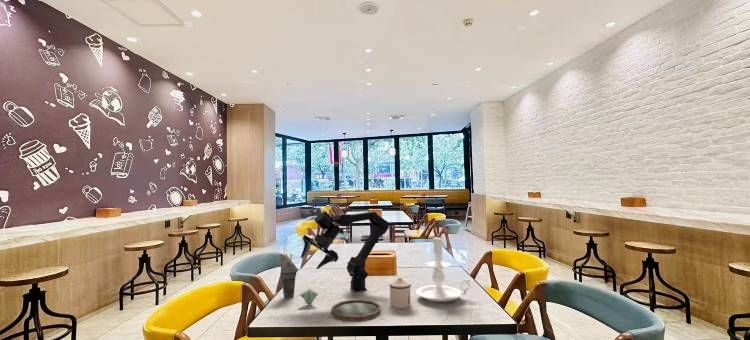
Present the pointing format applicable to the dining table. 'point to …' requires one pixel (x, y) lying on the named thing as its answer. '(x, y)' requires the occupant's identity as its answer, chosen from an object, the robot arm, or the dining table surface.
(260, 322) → the dining table surface
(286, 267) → the beverage cup
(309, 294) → the grey-green angular piece
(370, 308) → the round tray
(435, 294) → the candlestick
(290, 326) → the dining table surface
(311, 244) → the robot arm
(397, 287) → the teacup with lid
